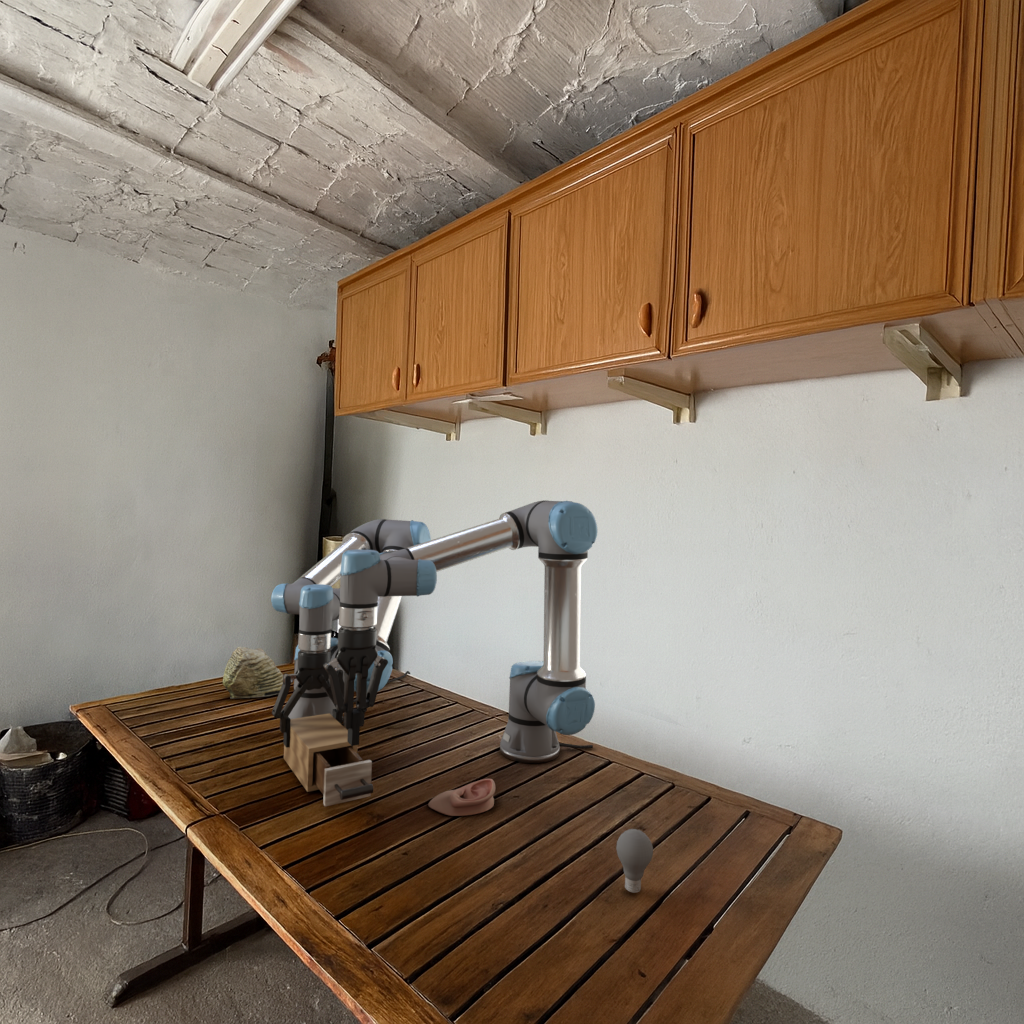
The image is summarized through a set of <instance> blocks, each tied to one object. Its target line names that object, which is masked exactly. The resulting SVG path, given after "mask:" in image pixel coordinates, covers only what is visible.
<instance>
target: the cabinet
mask: <svg viewBox="0 0 1024 1024" xmlns="http://www.w3.org/2000/svg"><path fill="white" fill-rule="evenodd" d="M347 739H348V729H346V728H345V727H344V725H343V724H342V723H341V724H340V723H339V722H338V721H337V720H336V719H335V718H334V717H333V716H332V715H331V714H330V713H328V714H322V715H315V716H308V717H302V718H295V719H291V722H290V747H287V748H286V747H285V745H284V744H283V760H284V761H285V762H286V764H287V765H288V766H289V768H290V770H291V771H292V773H293V774H294V775H295V776H296V778H297V780H298V781H299V782H300V784H301V785H302V786H303V788H304V789H305V791H306V793H308V792H309V793H310V792H314V791H318V790H319V788H318V787H317V786H316V784H315V783H314V782H313V753H314V752H319V751H325V750H330V749H336V748H341V747H347V746H350V747H351V748H352V749H353V750H354V751H355V752H356V753H357V754H358V746H359V745H355V746H351V745H350V744H349V742H348V741H347ZM319 791H320V790H319Z"/></svg>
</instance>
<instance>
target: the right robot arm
mask: <svg viewBox="0 0 1024 1024" xmlns="http://www.w3.org/2000/svg"><path fill="white" fill-rule="evenodd" d="M597 537H598V523H597V520H596V517H595V515H594V514H593V512H592V511H591V510H590V509H589V508H588V507H587V506H585V505H584V504H582V503H579V502H575V501H571V500H547V499H546V500H538V501H534V502H531V503H528V504H525V505H523V506H520V507H517V508H515V509H511V510H509V511H506V512H503V513H501V514H500V515H499V517H498V518H497V519H493V520H491V521H487V522H485V523H481V524H478V525H475V526H472V527H469V528H466V529H462V530H459V531H456V532H453V533H449V534H447V535H443V536H440V537H436V538H433V539H431V540H430V541H427V542H424V543H421V544H418V545H414V546H411V547H408V548H406V549H402V550H398V551H395V552H392V553H390V552H384V553H379V552H378V551H375V550H359V549H357V550H347V551H345V552H344V553H343V555H342V562H341V571H340V574H341V575H340V579H339V580H340V581H339V583H340V584H339V588H340V607H339V619H338V625H339V626H340V627H339V628H338V629H337V630H338V633H337V639H338V650H337V653H336V654H335V659H333V660H332V661H331V662H329V663H325V664H324V665H323V667H324V669H325V670H326V671H327V673H328V676H329V680H330V685H331V690H332V695H333V699H334V704H335V707H336V708H337V709H338V710H339V711H341V712H342V711H343V727H344V728H346V729H347V730H348V739H347V741H348V742H349V744H350V745H351V746H355V745H358V746H359V745H360V733H361V732H360V731H361V727H364V725H365V718H366V717H365V716H366V715H365V714H366V713H367V711H368V709H369V708H372V707H374V706H375V703H376V700H377V696H378V693H379V691H378V688H379V684H380V681H381V677H382V673H383V670H384V669H385V667H386V665H387V664H388V660H387V659H385V658H383V657H380V656H378V652H377V650H376V636H377V629H376V628H375V627H374V626H375V625H376V624H377V608H378V597H386V596H402V597H420V596H430V595H431V594H433V593H434V591H435V590H436V587H437V584H438V583H437V581H438V572H441V571H444V570H446V569H447V570H448V569H450V568H454V567H456V566H458V565H462V564H464V563H467V562H471V561H473V560H478V559H479V558H483V557H486V556H489V555H491V554H494V553H497V552H500V551H503V550H506V549H509V550H511V551H516V550H519V549H523V548H529V547H532V548H533V547H534V548H537V549H538V550H537V552H538V553H537V558H538V559H537V560H539V561H540V562H541V563H542V564H543V567H544V577H543V579H544V580H543V581H544V584H543V585H544V586H543V587H544V588H543V589H544V591H543V593H544V594H543V602H544V603H543V660H525V661H519V662H515V663H513V664H512V666H510V672H509V677H508V678H509V690H508V692H509V693H508V718H507V723H506V725H505V729H504V731H503V734H502V737H501V739H500V742H499V752H500V754H501V755H502V756H504V757H505V758H506V759H508V760H511V761H514V762H519V763H525V764H544V763H547V762H551V761H554V760H555V759H557V758H558V757H559V755H560V747H563V748H571V749H577V750H578V749H579V750H587V749H588V750H589V749H594V745H593V744H587V745H585V744H584V745H581V744H580V745H577V744H571V743H565V742H564V743H563V742H559V738H558V734H559V735H563V736H572V735H573V736H574V735H576V734H578V733H579V732H582V731H583V730H584V729H586V726H587V725H588V724H590V723H591V721H592V719H593V716H594V715H595V710H596V702H595V697H594V695H593V694H592V693H591V691H590V690H589V689H587V673H586V672H585V670H584V669H583V668H582V667H581V603H582V602H581V601H582V600H581V597H582V595H581V593H582V591H581V589H582V566H583V564H584V563H585V562H586V561H587V560H588V557H589V552H588V551H589V550H590V549H592V547H593V544H595V543H596V540H597ZM373 662H374V667H373V671H372V674H371V678H370V682H369V686H368V689H367V677H368V669H369V668H370V667H371V665H372V664H373ZM338 664H339V665H340V666H341V668H342V669H343V670H344V676H345V683H344V702H343V697H342V693H341V688H340V683H339V678H338V674H337V672H336V671H337V670H338ZM356 674H357V690H356V692H354V681H355V678H356ZM366 689H367V693H366ZM355 693H356V694H355ZM355 696H356V697H355ZM355 699H356V702H354V700H355ZM354 703H355V707H356V708H354ZM557 733H558V734H557Z"/></svg>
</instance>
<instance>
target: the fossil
mask: <svg viewBox="0 0 1024 1024" xmlns="http://www.w3.org/2000/svg"><path fill="white" fill-rule="evenodd" d="M283 675H284V674H283V673H282V672H281V669H279V668H278V667H277V665H276V663H275V662H274V660H273V659H272V658H271V657H270V656H269V655H268V654H267V653H266V652H265V650H264V649H263V648H260V647H258V648H251V647H247V646H246V647H245V646H238V647H237V648H236V649H235V650H233V651H232V653H231V656H230V657H229V659H228V660H227V663H226V666H225V668H224V671H223V675H222V676H223V677H222V685H223V687H224V688H225V690H226V691H228V693H229V698H230V699H250V698H264V697H271V696H275V695H279V692H280V689H281V687H282V684H283Z"/></svg>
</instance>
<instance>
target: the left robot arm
mask: <svg viewBox="0 0 1024 1024" xmlns="http://www.w3.org/2000/svg"><path fill="white" fill-rule="evenodd" d="M430 532H431V531H430V529H429V527H428V526H427V524H426V523H425V522H423V521H417V520H413V519H411V520H402V519H400V520H399V519H386V518H379V519H374V520H370V521H368V522H365V523H363V524H361V525H359V526H357V527H355V528H354V529H353V530H352V529H351V531H350V532H348V533H347V534H346V535H345V536H344V537H343V539H342V541H341V543H340V544H339V545H338V546H336V547H335V548H334V549H332V550H331V551H330V552H329V553H328V554H326V555H325V556H324V557H323V558H322V559H321V560H319V561H318V562H317V563H316V564H314V565H313V566H312V567H311V568H310V569H308V570H307V571H305V572H304V573H303V574H302V575H301V576H300V577H298V579H297V580H295V581H294V582H292V583H289V582H286V583H279V584H277V585H276V586H274V589H273V590H272V593H271V596H270V601H271V606H272V608H273V609H274V610H275V611H276V612H279V613H283V614H286V615H287V614H288V615H298V616H299V617H298V618H299V624H298V625H299V626H298V641H297V645H296V647H295V652H294V653H295V654H294V659H293V660H294V672H293V673H289V674H288V673H284V674H282V675H283V684H282V687H281V689H280V692H279V694H277V697H276V700H275V702H274V705H273V708H272V711H271V715H272V716H273V717H274V719H279V731H280V733H281V734H283V741H282V742H283V746H284V745H285V747H286V748H287V747H290V722H291V719H295V718H302V717H308V716H315V715H322V714H328V713H330V714H331V715H332V716H333V717H334V718H335V719H336V720H337V721H338V722H339V723H340V724H341V725H342V724H343V723H344V712H343V711H342V712H341V711H339V710H338V709H337V708H336V707H335V704H334V699H333V695H332V690H331V685H330V680H329V676H328V673H327V671H326V670H325V669H324V667H323V665H324V664H325V663H329V662H331V661H332V660H333V659H335V654H336V653H337V650H338V637H332V626H333V622H334V621H338V620H339V607H340V587H338V588H337V587H336V588H334V587H333V586H334V585H335V584H336V583H337V582H338V581H339V580H340V575H341V574H340V571H341V562H342V555H343V553H344V552H345V551H347V550H357V549H359V550H375V551H378V552H379V553H384V552H390V553H392V552H395V551H398V550H402V549H406V548H408V547H411V546H414V545H418V544H421V543H424V542H427V541H430V540H432V537H431V533H430ZM402 599H403V596H386V597H378V608H377V624H376V625H375V626H374V627H375V628H376V629H377V636H376V650H377V652H378V656H380V657H383V658H385V659H387V660H388V664H387V665H386V667H385V669H384V670H383V673H382V677H381V681H380V684H379V688H378V692H380V691H381V690H382V689H383V688H384V687H385V686H386V685H387V684H391V683H393V682H395V681H399V680H401V679H404V678H405V677H407V675H411V672H410V671H409V670H407V671H406V672H405V673H404V674H402V675H400V676H398V677H395V678H392V679H390V677H391V675H392V671H393V664H394V659H393V656H392V654H391V652H390V651H391V648H390V645H389V644H388V640H389V637H390V634H391V631H392V628H393V625H394V623H395V619H396V616H397V613H398V610H399V607H400V604H401V602H402ZM373 667H374V662H373V664H372V665H371V667H370V668H369V669H368V677H367V689H368V686H369V682H370V678H371V674H372V671H373ZM336 672H337V674H338V678H339V683H340V688H341V693H342V697H343V702H344V683H345V676H344V670H343V669H342V668H341V666H340V665H339V664H338V670H337V671H336ZM291 685H293V692H292V694H291V695H290V697H289V698H288V700H287V697H288V695H289V692H290V689H291ZM367 689H366V693H367ZM356 690H357V674H356V678H355V681H354V693H356ZM286 701H287V702H286ZM354 703H356V698H354Z"/></svg>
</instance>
